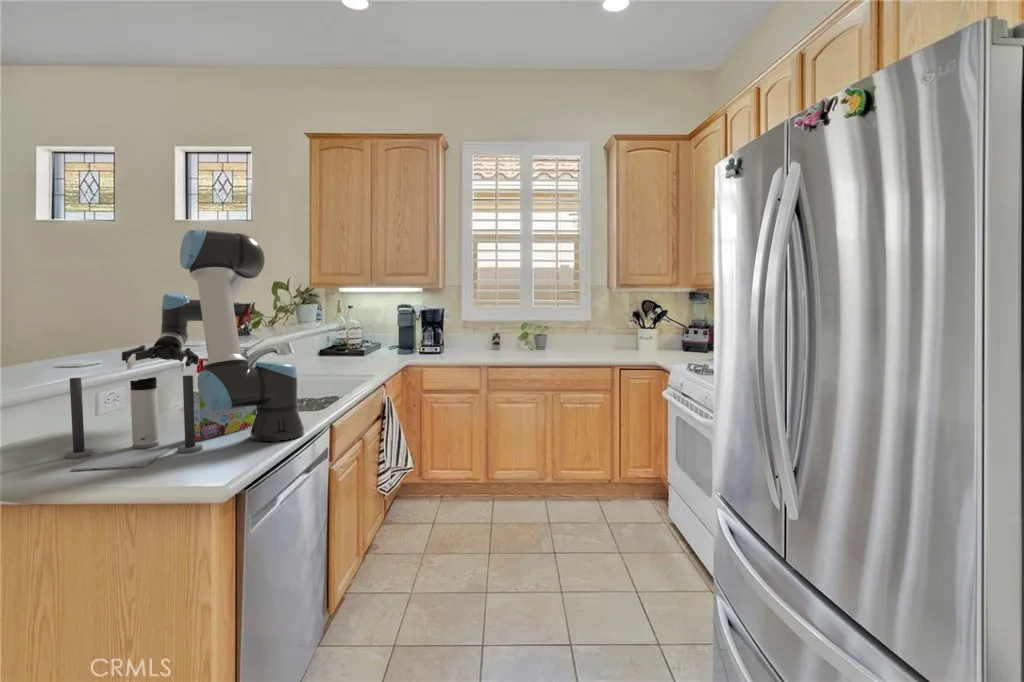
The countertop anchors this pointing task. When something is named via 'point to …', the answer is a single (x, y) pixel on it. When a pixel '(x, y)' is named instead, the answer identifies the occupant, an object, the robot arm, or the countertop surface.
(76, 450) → the post
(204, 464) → the countertop surface
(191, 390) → the post
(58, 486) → the countertop surface
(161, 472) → the countertop surface
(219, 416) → the snack box
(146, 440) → the travel mug
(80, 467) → the mat
